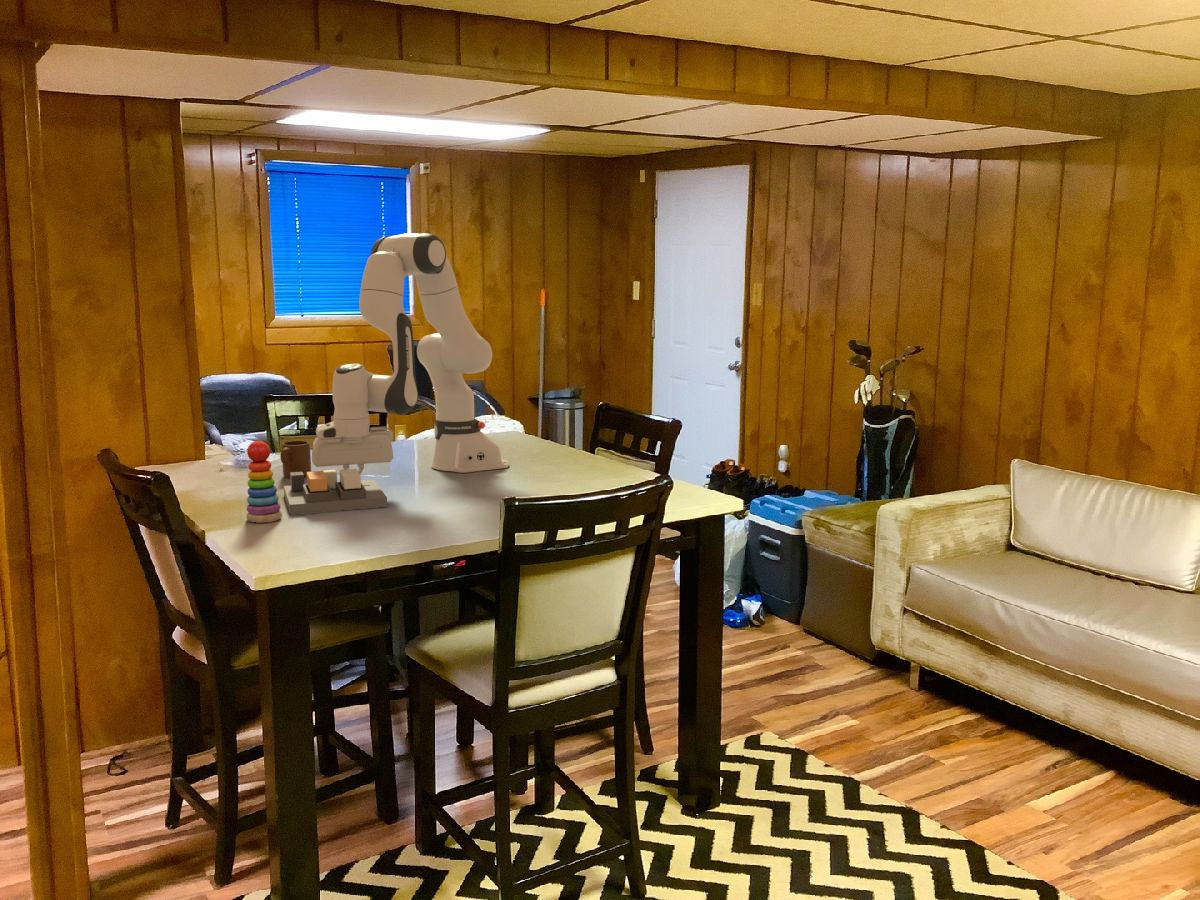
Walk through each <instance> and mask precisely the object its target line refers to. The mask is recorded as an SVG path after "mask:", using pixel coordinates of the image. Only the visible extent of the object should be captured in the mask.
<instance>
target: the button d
mask: <svg viewBox="0 0 1200 900" xmlns="http://www.w3.org/2000/svg"><path fill="white" fill-rule="evenodd" d="M361 478H362V477H361V474H359V473H358V469H356V468H349V469H346V470H344V469H339V482H341V484H342V486H343V488H344V489H355V488H361V481H362V479H361Z"/></svg>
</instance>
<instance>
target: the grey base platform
mask: <svg viewBox="0 0 1200 900" xmlns="http://www.w3.org/2000/svg"><path fill="white" fill-rule="evenodd" d="M335 483H336V488H331V489H330V487H329V485H328V483H327V490H326V491H312V492H310V489H309V487H308V485H307V483H306V484H305V483H304V484H303V491H292V490H291V485H283V495H284V500H285V503H286V505H287V510H288V512H289V515H290V516H293V515H305V514H307V515H308V514H319V513H331V512H333V511H334V512H343V511H342V510H347V511H355V510H354V509H360V510H368V509H367V508H373V509H379V508H378V507H386V508H388V497H387V496H386V495H385V493H384V491H383V490H382V488H381V487H380V486H379V484H378V483H377V482H376V481H375V479H370V480H369V479H368V480H361V488H355V489H344V488H343V486H342V484H341V482H340V481H337V482H335Z"/></svg>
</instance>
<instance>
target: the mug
mask: <svg viewBox="0 0 1200 900" xmlns="http://www.w3.org/2000/svg"><path fill="white" fill-rule="evenodd" d="M280 451H281V452H280V454H279V455H280V461H281V463H282V473H283V474H282V475H283V477H285V478H288V479H290V472H303V474H304V478H307V472H312V454H311V444H310V442H309V441H308V440H307V441H305V440H290V441H285V442H282V444H281V450H280Z"/></svg>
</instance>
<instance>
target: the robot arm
mask: <svg viewBox="0 0 1200 900" xmlns="http://www.w3.org/2000/svg"><path fill="white" fill-rule="evenodd" d="M446 249H447V248H446V247H445V245H444V243H443V240H442V239H441V238H440V237H439V236H437V235H435V234H431V233H428V232H427V233H425V232H423V233H415V232H411V233H403V234H396V235H386V236H382V237H381V238H378V239H376V241H375V242H374V243H373V245H372V246H371V250H370V256H368V258H367V261H366V264H365V266H364V270H363V275H362V279H361V285H360V286H361V287H360V293H359V300H358V301H359V303H358V304H359V306H358V307H359V311H360V314H361V316H362V318H363V319H364V320H365V321H366V323H368V324H369V325H370V326H372V327H374V328H375V329H377V330H379V331H381V332H383V333H385V334H386V335H387V336H388V337H389V338H390V340H391V344H392V352H393V353H392V354H393V355H392V356H393V358H392V359H393V374H391V375H385V374H376V373H373V372H370V371H367V370H366V368H365V365H363V364H360V363H354V362H353V363H345V364H342V365H339V366H338V367H336V368H335V370H334V373H333V377H332V392H331V393H332V403H333V405H334V412H333V421H330V422H327V423H325V424H321V425H320V426H317V427H316V428H315V429H316V430H315V433H316V437H315V438H314V440H313V442H312V443H313V444H312V451H311V463H312V464H313V466H315V467H316V468H319V467H320V468H321V467H334V466H335V467H336V466H342V468H343V469H342V470H346V469H350V465H351V466H352V465H357V468H358V469H357V471H358V473H359V474H360V475H362V472H363V470H364V469H365V464H381V463H383V464H384V463H390V462H392V461H393V460H394V452H393V451H394V450H393V445H392V442H393V441H394V431H393V430H392V429H391V428H389V427H388V426H371V427H370V413H369V411H370V412H377V413H389V414H393V415H396V416H405V415H407V414H408V413H410V412H411V411H412V410H413V409H414V408H415V406H416V405H417V403H418V400H419V390H418V385H417V380H416V372H415V371H416V370H415V369H416V368H415V344H414V332H413V331H414V330H413V323H412V321H411V318H410V317H409V316H408V315H407V314H406V312H405V309H404V291H405V290H404V289H405V278H406V277H407V276H408V277H409V276H414V277H415V281H416V282H415V283H416V287H417V291H418V292H417V293H418V295H419V300H420V303H421V307H422V311H423V314H424V318H425V320H426V321H427V323H429V325H431V326H432V327H433V328H434V329H435V330H436V331H437V332H436V333H435V332H434V333H431V334H427V335H424V336H423V337H421V338H420V340H419V342H417V346H416V355H417V356H416V357H417V359H418V362H419V363H420V364H421V365H423V367H424V368H425V370H426V371H427V373H428V376H429V378H430V381H431V383H432V387H433V392H434V397H435V417H436V418H435V419H434V427H433V428H434V431H433V432H434V439H435V444H434V445H435V447H434V448H435V449H434V455H433V460H432V463H431V468H432V469H435V470H438V471H445V472H455V473H460V474H462V473H472V472H483V471H492V470H500V469H506V468H508V467H509V466H510V464H509V461H508V460H507V459H505V458H503V457H502V455H501V454H502V453H501V449H500V446H499V445H498V443H497V442H495V441H494V440H493V439H492V438H490V437H489V436H488V435H486V434H485V433H483V431H482V430H483V429H485V428H486V423H485V422H484V421H482V420H478V419H477V418H475V395H474V391H473V390H472V388H471V387H470V386H469V385H468V384H467V383H466V381H465V379H464V376H463V374H467V375H469V374H477V373H481V372H484V371H486V370H488V368H489V367H490V365H491V362H492V361H493V349H492V347H491V344H490V343H489V342H488V341H487V340H486V339H485V338H484V337H483V336H481V335H480V333H478V332H477V330H476V329H475V327H474V326H473V324H472V322H471V321H470V319H469V317H468V315H467V313H466V311H465V308H464V306H463V301H462V298H461V295H460V294H461V293H460V291H459V286H458V282H457V279H456V275H455V272H454V270H453V267H452V265H451V262H450V260H449V258H448V256H447V250H446Z"/></svg>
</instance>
